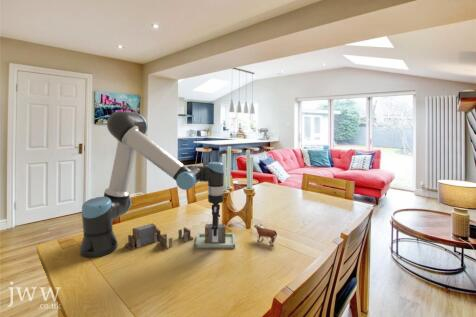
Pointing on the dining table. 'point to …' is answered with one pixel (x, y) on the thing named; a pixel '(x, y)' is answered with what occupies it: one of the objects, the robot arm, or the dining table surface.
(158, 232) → the holder
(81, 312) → the dining table surface
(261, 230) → the bull figurine
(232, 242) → the tray
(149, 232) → the fuse
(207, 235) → the block
